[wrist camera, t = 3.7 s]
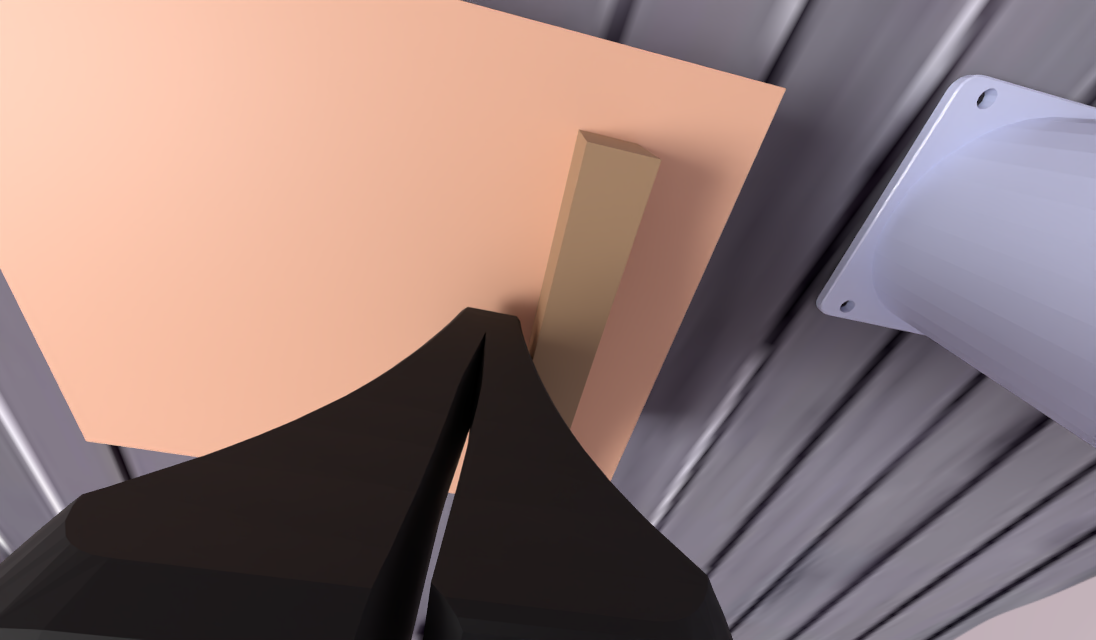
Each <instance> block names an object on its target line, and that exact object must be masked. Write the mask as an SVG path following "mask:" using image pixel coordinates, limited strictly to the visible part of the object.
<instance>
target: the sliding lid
mask: <svg viewBox="0 0 1096 640" xmlns="http://www.w3.org/2000/svg"><path fill="white" fill-rule="evenodd" d="M785 90H786V88H782V87H778V86H775V85H771V84H767V83H764V82H760V81H756V80H752V79H749V78H745V77H741V76H738V75H734V74H730V73H727V72H723V71H719V70H715V69H712V68H708V67H704V66H701V65H697V64H693V63H690V62H686V61H682V60H679V59H675V58H671V57H667V56H664V55H660V54H656V53H653V52H649V51H645V50H642V49H638V48H634V47H630V46H627V45H623V44H619V43H616V42H612V41H608V40H605V39H601V38H597V37H594V36H590V35H586V34H582V33H579V32H575V31H571V30H568V29H564V28H560V27H557V26H553V25H549V24H545V23H542V22H538V21H534V20H531V19H527V18H523V17H520V16H516V15H512V14H509V13H505V12H501V11H497V10H494V9H490V8H486V7H483V6H479V5H475V4H472V3H468V2H464V1H460V0H0V268H1V270H2V272H3V274H4V276H5V278H6V280H7V282H8V284H9V286H10V288H11V290H12V293H13V295H14V297H15V299H16V301H17V303H18V305H19V307H20V309H21V311H22V313H23V315H24V317H25V319H26V321H27V323H28V325H29V327H30V329H31V331H32V333H33V335H34V337H35V339H36V341H37V343H38V345H39V347H40V349H41V351H42V353H43V355H44V357H45V359H46V361H47V363H48V365H49V367H50V369H51V371H52V373H53V375H54V377H55V379H56V381H57V383H58V385H59V387H60V389H61V391H62V393H63V395H64V397H65V399H66V401H67V403H68V405H69V407H70V409H71V411H72V413H73V415H74V417H75V419H76V421H77V423H78V425H79V427H80V430H81V432H82V434H83V436H84V438H85V440H86V441H89V442H96V443H103V444H110V445H117V446H124V447H131V448H138V449H145V450H152V451H159V452H166V453H174V454H181V455H188V456H195V457H201V456H204V455H207V454H210V453H212V452H215V451H218V450H221V449H224V448H226V447H229V446H231V445H234V444H237V443H239V442H242V441H245V440H247V439H250V438H252V437H255V436H258V435H260V434H263V433H265V432H267V431H270V430H272V429H275V428H277V427H280V426H282V425H284V424H287V423H289V422H291V421H294V420H296V419H298V418H300V417H302V416H304V415H306V414H309V413H311V412H313V411H315V410H317V409H319V408H321V407H323V406H325V405H327V404H330V403H332V402H334V401H336V400H338V399H340V398H342V397H344V396H346V395H348V394H349V393H351V392H353V391H355V390H357V389H358V388H360V387H362V386H363V385H365V384H367V383H369V382H370V381H372V380H374V379H375V378H377V377H378V376H380V375H382V374H383V373H385V372H386V371H388V370H389V369H391V368H392V367H394V366H395V365H396V364H398V363H399V362H401V361H402V360H404V359H405V358H406V357H408V356H409V355H411V354H412V353H413V352H415V351H416V350H417V349H419V348H420V347H421V346H423V345H424V344H425V343H426V342H427V341H429V340H430V339H431V338H432V337H434V336H435V335H436V334H437V333H438V332H440V331H441V330H442V329H443V328H444V327H445V326H446V325H447V324H449V323H450V322H451V321H452V320H453V319H454V318H455V317H456V316H457V315H458V314H459V313H460V312H461V311H462V310H463V309H465V308H467V307H472V308H477V309H482V310H487V311H493V312H498V313H503V314H508V315H513V316H517V317H518V319H519V320H520V322H521V328H522V332H523V336H524V339H525V342H526V345H527V348H528V351H529V353H530V356H531V358H532V360H533V363H534V365H535V367H536V370H537V372H538V374H539V376H540V378H541V381H542V383H543V385H544V387H545V388H546V390H547V392H548V394H549V396H550V398H551V400H552V401H553V403H554V405H555V407H556V408H557V410H558V412H559V413H560V415H561V417H562V418H563V420H564V421H565V423H566V424H567V426H568V427H569V429H570V430H571V432H572V433H573V435H574V436H575V437H576V439H577V440H578V442H579V443H580V444H581V446H582V447H583V449H584V450H585V451H586V452H587V454H588V455H589V456H590V457H591V459H592V460H593V461H594V462H595V463H596V465H597V466H598V467H599V468H600V469H601V471H602V472H603V473H604V474H605V475H606V477H607V478H608V479H609V480H610V481H611V479H612V476H613V474H614V472H615V470H616V467H617V465H618V463H619V461H620V458H621V456H622V454H623V452H624V449H625V447H626V445H627V443H628V441H629V438H630V436H631V434H632V432H633V429H634V427H635V425H636V423H637V420H638V418H639V416H640V414H641V412H642V409H643V407H644V405H645V403H646V400H647V398H648V396H649V394H650V391H651V389H652V387H653V385H654V382H655V380H656V378H657V376H658V374H659V371H660V369H661V367H662V365H663V362H664V360H665V358H666V356H667V353H668V351H669V349H670V347H671V345H672V342H673V340H674V338H675V336H676V333H677V331H678V329H679V327H680V324H681V322H682V320H683V318H684V315H685V313H686V311H687V309H688V307H689V304H690V302H691V300H692V298H693V295H694V293H695V291H696V289H697V286H698V284H699V282H700V280H701V278H702V275H703V273H704V271H705V269H706V266H707V264H708V262H709V260H710V257H711V255H712V253H713V251H714V248H715V246H716V244H717V242H718V240H719V237H720V235H721V233H722V231H723V228H724V226H725V224H726V222H727V219H728V217H729V215H730V213H731V211H732V208H733V206H734V204H735V202H736V199H737V197H738V195H739V193H740V190H741V188H742V186H743V184H744V181H745V179H746V177H747V175H748V173H749V170H750V168H751V166H752V164H753V161H754V159H755V157H756V155H757V152H758V150H759V148H760V146H761V144H762V141H763V139H764V137H765V135H766V132H767V130H768V128H769V126H770V123H771V121H772V119H773V117H774V114H775V112H776V110H777V108H778V106H779V103H780V101H781V99H782V97H783V94H784V92H785ZM468 438H469V432H468V435H467V438H466V441H465V444H464V447H463V450H462V453H461V456H460V459H459V462H458V465H457V468H456V471H455V474H454V477H453V480H452V483H451V486H450V489H449V492H448V493H455V492H456V488H457V484H458V480H459V477H460V473H461V469H462V465H463V461H464V457H465V453H466V449H467V445H468Z"/></svg>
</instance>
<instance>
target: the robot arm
mask: <svg viewBox="0 0 1096 640" xmlns="http://www.w3.org/2000/svg"><path fill="white" fill-rule="evenodd" d="M983 92H984V94H985V96H984V98H983V100H982V102H981V103H980V104H979V105H978V106H977V100H978V98H979V96H980V95H981V94H982V93H983ZM846 301H848V302H847V304H846V305H845V306H843V307H841V305H842V304H843V303H844V302H846ZM816 306H817V308H818V309H819V310H820V311H821V312H823V313H824V314H827V315H831V316H835V317H840V318H845V319H850V320H855V321H859V322H864V323H869V324H874V325H878V326H883V327H888V328H893V329H898V330H902V331H907V332H912V333H917V334H922V335H926V336H927V337H929V338H930V339H932V340H933V341H935V342H936V343H938V344H939V345H941V346H942V347H944V348H945V349H947V350H948V351H950V352H951V353H953V354H955V355H956V356H958V357H959V358H961V359H962V360H964V361H965V362H967V363H968V364H970V365H971V366H973V367H974V368H976V369H977V370H979V371H980V372H982V373H983V374H985V375H986V376H988V377H989V378H991V379H992V380H994V381H995V382H997V383H998V384H1000V385H1001V386H1003V387H1004V388H1006V389H1007V390H1009V391H1010V392H1012V393H1013V394H1015V395H1016V396H1018V397H1019V398H1021V399H1022V400H1024V401H1025V402H1027V403H1028V404H1030V405H1031V406H1033V407H1034V408H1036V409H1037V410H1039V411H1040V412H1042V413H1043V414H1045V415H1046V416H1048V417H1049V418H1051V419H1052V420H1054V421H1055V422H1057V423H1058V424H1060V425H1061V426H1063V427H1064V428H1066V429H1068V430H1069V431H1071V432H1072V433H1074V434H1075V435H1077V436H1078V437H1080V438H1081V439H1083V440H1084V441H1086V442H1087V443H1089V444H1090V445H1092V446H1093V447H1095V448H1096V108H1095V107H1092V106H1088V105H1085V104H1082V103H1078V102H1075V101H1071V100H1068V99H1064V98H1061V97H1057V96H1054V95H1051V94H1047V93H1044V92H1040V91H1037V90H1033V89H1030V88H1027V87H1023V86H1020V85H1016V84H1013V83H1009V82H1006V81H1002V80H999V79H996V78H992V77H989V76H985V75H966V76H963V77H961V78H959V79H957V80H956V81H955V82H953V83H952V84H951V86H950V87H949V88H948V89H947V91H946V92H945V94H944V95H943V97H942V99H941V100H940V102H939V104H938V105H937V107H936V108H935V110H934V112H933V113H932V115H931V116H930V118H929V120H928V121H927V123H926V124H925V126H924V128H923V129H922V131H921V132H920V134H919V136H918V137H917V139H916V140H915V142H914V144H913V145H912V147H911V149H910V150H909V152H908V153H907V155H906V157H905V158H904V160H903V161H902V163H901V165H900V166H899V168H898V169H897V171H896V173H895V174H894V176H893V177H892V179H891V181H890V182H889V184H888V185H887V187H886V189H885V190H884V192H883V194H882V195H881V197H880V198H879V200H878V202H877V203H876V205H875V206H874V208H873V210H872V211H871V213H870V214H869V216H868V218H867V219H866V221H865V222H864V224H863V226H862V227H861V229H860V230H859V232H858V234H857V235H856V237H855V239H854V240H853V242H852V243H851V245H850V247H849V248H848V250H847V251H846V253H845V255H844V256H843V258H842V259H841V261H840V263H839V264H838V266H837V267H836V269H835V271H834V272H833V274H832V275H831V277H830V279H829V280H828V282H827V284H826V285H825V287H824V288H823V290H822V292H821V293H820V295H819V296H818V298H817V301H816ZM840 307H841V308H840ZM468 432H469V438H468V445H467V449H466V453H465V457H464V461H463V465H462V469H461V473H460V477H459V480H458V484H457V488H456V492H455V496H454V500H453V503H452V507H451V511H450V515H449V518H448V522H447V526H446V529H445V533H444V537H443V541H442V544H441V548H440V552H439V556H438V559H437V563H436V566H435V570H434V574H433V577H432V581H431V587H430V594H429V601H428V608H427V615H426V622H425V630H424V637H423V640H733V639H732V636H731V633H730V630H729V627H728V625H727V622H726V619H725V616H724V614H723V611H722V609H721V607H720V605H719V602H718V600H717V598H716V595H715V593H714V591H713V588H712V586H711V583H710V580H709V578H708V576H707V575H706V574H705V573H704V572H703V571H702V570H701V569H700V568H699V567H697V566H696V565H695V564H694V563H693V562H692V561H691V560H690V559H689V558H688V557H687V556H685V555H684V554H683V553H682V552H681V551H680V550H679V549H678V548H677V547H676V546H675V545H673V544H672V543H671V542H670V541H669V540H668V539H667V538H666V537H665V536H664V535H663V534H661V533H660V532H659V531H658V530H657V529H656V528H655V527H654V526H653V525H652V524H651V523H650V522H649V521H648V520H647V519H646V518H645V517H644V516H643V515H642V514H641V513H640V512H639V511H638V510H637V509H636V508H635V507H634V506H633V505H632V504H631V503H630V502H629V501H628V500H627V499H626V498H625V497H624V496H623V495H622V494H621V492H620V491H619V490H618V489H617V488H616V487H615V486H614V485H613V484H612V483H611V481H610V480H609V479H608V478H607V477H606V475H605V474H604V473H603V472H602V471H601V469H600V468H599V467H598V466H597V465H596V463H595V462H594V461H593V460H592V459H591V457H590V456H589V455H588V454H587V452H586V451H585V450H584V449H583V447H582V446H581V444H580V443H579V442H578V440H577V439H576V437H575V436H574V435H573V433H572V432H571V430H570V429H569V427H568V426H567V424H566V423H565V421H564V420H563V418H562V417H561V415H560V413H559V412H558V410H557V408H556V407H555V405H554V403H553V401H552V400H551V398H550V396H549V394H548V392H547V390H546V388H545V387H544V385H543V383H542V381H541V378H540V376H539V374H538V372H537V370H536V367H535V365H534V363H533V360H532V358H531V356H530V353H529V351H528V348H527V345H526V342H525V339H524V336H523V332H522V328H521V322H520V320H519V319H518V317H517V316H513V315H508V314H503V313H498V312H493V311H487V310H482V309H477V308H472V307H467V308H465V309H463V310H462V311H461V312H460V313H459V314H458V315H457V316H456V317H455V318H454V319H453V320H452V321H451V322H450V323H449V324H447V325H446V326H445V327H444V328H443V329H442V330H441V331H440V332H438V333H437V334H436V335H435V336H434V337H432V338H431V339H430V340H429V341H427V342H426V343H425V344H424V345H423V346H421V347H420V348H419V349H417V350H416V351H415V352H413V353H412V354H411V355H409V356H408V357H406V358H405V359H404V360H402V361H401V362H399V363H398V364H396V365H395V366H394V367H392V368H391V369H389V370H388V371H386V372H385V373H383V374H382V375H380V376H378V377H377V378H375V379H374V380H372V381H370V382H369V383H367V384H365V385H363V386H362V387H360V388H358V389H357V390H355V391H353V392H351V393H349V394H348V395H346V396H344V397H342V398H340V399H338V400H336V401H334V402H332V403H330V404H327V405H325V406H323V407H321V408H319V409H317V410H315V411H313V412H311V413H309V414H306V415H304V416H302V417H300V418H298V419H296V420H294V421H291V422H289V423H287V424H284V425H282V426H280V427H277V428H275V429H272V430H270V431H267V432H265V433H263V434H260V435H258V436H255V437H252V438H250V439H247V440H245V441H242V442H239V443H237V444H234V445H231V446H229V447H226V448H224V449H221V450H218V451H215V452H212V453H210V454H207V455H204V456H201V457H198V458H196V459H193V460H189V461H186V462H183V463H180V464H177V465H174V466H171V467H168V468H165V469H162V470H159V471H156V472H152V473H149V474H146V475H143V476H140V477H137V478H134V479H131V480H128V481H125V482H122V483H118V484H115V485H112V486H109V487H106V488H102V489H99V490H96V491H92V492H89V493H86V494H82V495H81V496H80V497H78V498H77V499H76V500H75V501H73V502H72V503H71V504H70V505H68V506H67V507H66V508H65V509H63V510H62V511H61V512H60V513H59V514H57V515H56V516H55V517H54V518H53V519H51V520H50V521H49V522H48V523H47V524H46V525H44V526H43V527H42V528H41V529H40V530H38V531H37V532H36V533H35V534H34V535H33V536H31V537H30V538H29V539H28V540H27V541H26V542H25V543H23V544H22V545H21V546H20V547H19V548H18V549H17V550H15V551H14V552H13V553H12V554H11V555H10V556H9V557H7V558H6V559H5V560H4V561H3V562H2V563H1V564H0V640H411V639H412V634H413V630H414V626H415V621H416V617H417V613H418V609H419V605H420V600H421V596H422V592H423V588H424V583H425V579H426V575H427V571H428V567H429V562H430V558H431V554H432V550H433V546H434V542H435V537H436V533H437V529H438V525H439V521H440V518H441V514H442V511H443V507H444V504H445V501H446V498H447V495H448V492H449V489H450V486H451V483H452V480H453V477H454V474H455V471H456V468H457V465H458V462H459V459H460V456H461V453H462V450H463V447H464V444H465V441H466V438H467V435H468Z"/></svg>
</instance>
